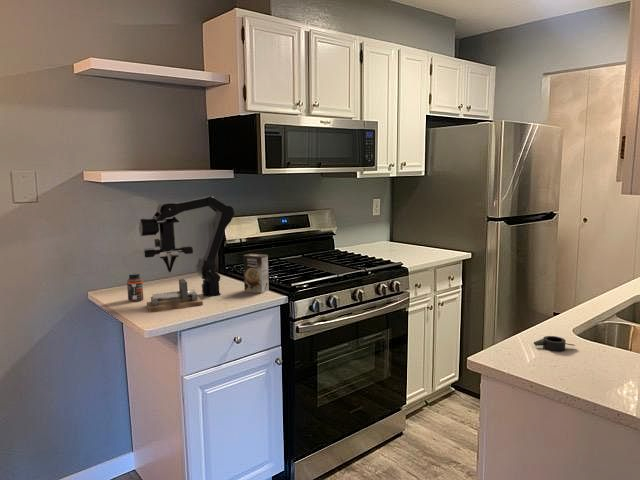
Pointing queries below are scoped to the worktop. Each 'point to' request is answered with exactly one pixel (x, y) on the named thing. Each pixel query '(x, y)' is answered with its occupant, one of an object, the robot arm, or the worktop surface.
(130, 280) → the supplement bottle
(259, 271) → the coffee box
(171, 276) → the worktop surface
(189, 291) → the pipe rig
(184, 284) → the slotted grey bracket
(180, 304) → the board
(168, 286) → the worktop surface
